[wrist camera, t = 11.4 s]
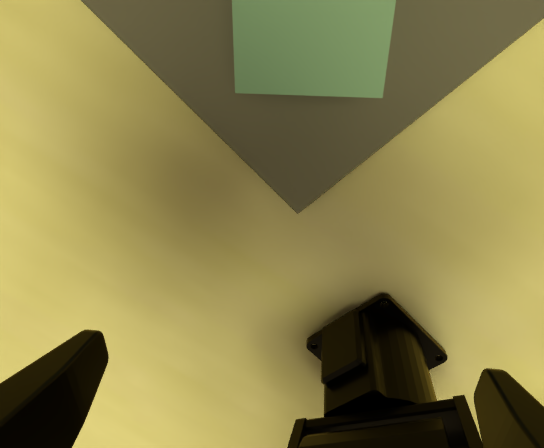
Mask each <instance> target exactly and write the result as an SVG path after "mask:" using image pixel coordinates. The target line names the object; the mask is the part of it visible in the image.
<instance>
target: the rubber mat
mask: <svg viewBox="0 0 544 448" xmlns="http://www.w3.org/2000/svg"><path fill="white" fill-rule="evenodd" d="M81 1H82V2H83V3H84V4H85V5H86V6H87V7H88V8H89V9H90V10H91V11H92V12H93V13H94V14H95V15H96V16H97V17H98V18H99V19H100V20H101V21H102V22H103V23H104V24H105V25H106V26H107V27H108V28H109V29H110V30H111V31H112V32H114V33H115V34H116V35H117V36H118V37H119V38H120V39H121V40H122V41H123V42H124V43H125V44H126V45H127V46H128V47H129V48H130V49H131V50H132V51H133V52H134V53H135V54H136V55H137V56H138V57H139V58H140V59H141V60H142V61H143V62H144V63H145V64H146V65H147V66H148V67H149V68H150V69H151V70H152V71H153V72H154V73H155V74H156V75H157V76H158V77H159V78H160V79H161V80H162V81H163V82H164V83H165V84H166V85H167V86H168V87H169V88H170V89H171V90H172V91H173V92H174V93H175V94H176V95H177V96H179V97H180V98H181V99H182V100H183V101H184V102H185V103H186V104H187V105H188V106H189V107H190V108H191V109H192V110H193V111H194V112H195V113H196V114H197V115H198V116H199V117H200V118H201V119H202V120H203V121H204V122H205V123H206V124H207V125H208V126H209V127H210V128H211V129H212V130H213V131H214V132H215V133H216V134H217V135H218V136H219V137H220V138H221V139H222V140H223V141H224V142H225V143H226V144H227V145H228V146H229V147H230V148H231V149H232V150H233V151H234V152H235V153H236V154H237V155H238V156H239V157H240V158H241V159H242V160H243V161H245V162H246V163H247V164H248V165H249V166H250V167H251V168H252V169H253V170H254V171H255V172H256V173H257V174H258V175H259V176H260V177H261V178H262V179H263V180H264V181H265V182H266V183H267V184H268V185H269V186H270V187H271V188H272V189H273V190H274V191H275V192H276V193H277V194H278V195H279V196H280V197H281V198H282V199H283V200H284V201H285V202H286V203H287V204H288V205H289V206H290V207H291V208H292V209H293V210H294V211H295V212H296V213H297V214H298V213H300V212H301V211H302V210H303V209H305V208H306V207H307V206H309V205H310V204H311V203H312V202H314V201H315V200H316V199H317V198H319V197H320V196H321V195H322V194H324V193H325V192H326V191H327V190H329V189H330V188H331V187H332V186H334V185H335V184H336V183H337V182H339V181H340V180H341V179H342V178H344V177H345V176H346V175H347V174H349V173H350V172H351V171H352V170H354V169H355V168H356V167H358V166H359V165H360V164H361V163H363V162H364V161H365V160H366V159H368V158H369V157H370V156H371V155H373V154H374V153H375V152H376V151H378V150H379V149H380V148H381V147H383V146H384V145H385V144H386V143H388V142H389V141H390V140H391V139H393V138H394V137H395V136H396V135H398V134H399V133H400V132H401V131H403V130H404V129H405V128H406V127H408V126H409V125H410V124H412V123H413V122H414V121H415V120H417V119H418V118H419V117H420V116H422V115H423V114H424V113H425V112H427V111H428V110H429V109H430V108H432V107H433V106H434V105H435V104H437V103H438V102H439V101H440V100H442V99H443V98H444V97H445V96H447V95H448V94H449V93H450V92H452V91H453V90H454V89H455V88H457V87H458V86H459V85H460V84H462V83H463V82H464V81H466V80H467V79H468V78H469V77H471V76H472V75H473V74H474V73H476V72H477V71H478V70H479V69H481V68H482V67H483V66H484V65H486V64H487V63H488V62H489V61H491V60H492V59H493V58H494V57H496V56H497V55H498V54H499V53H501V52H502V51H503V50H504V49H506V48H507V47H508V46H509V45H511V44H512V43H513V42H514V41H516V40H517V39H518V38H520V37H521V36H522V35H523V34H525V33H526V32H527V31H528V30H530V29H531V28H532V27H533V26H535V25H536V24H537V23H538V22H540V21H541V20H542V19H543V18H544V0H396V4H395V11H394V19H393V26H392V33H391V40H390V48H389V55H388V62H387V69H386V77H385V84H384V91H383V98H365V97H335V96H305V95H276V94H246V93H235V74H234V46H233V17H232V0H81Z"/></svg>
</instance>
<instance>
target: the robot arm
mask: <svg viewBox="0 0 544 448" xmlns="http://www.w3.org/2000/svg"><path fill="white" fill-rule="evenodd" d="M383 301H386V302H387V303H385V304H382V303H381V302H383ZM313 344H316V345H313ZM307 349H308V350H309V351H310V352H312V353H313V354H314V355H315V356H316V357H317V358H318V359H320V360H321V361H322V366H321V382H322V383H323V384H324V417H323V418H316V419H309V420H307V419H306V418H303V419H296V421H295V424H294V427H293V431H292V434H291V437H290V440H289V444H288V447H287V448H544V406H542V405H541V404H540V403H539V402H538V401H537V400H536V399H535V398H534V397H533V396H532V395H531V394H530V393H529V392H528V391H526V390H525V389H524V388H523V387H522V386H521V385H520V384H519V383H518V382H517V381H516V380H515V379H514V378H513V377H511V376H510V375H509V374H508V373H507V372H506V371H504V370H500V369H489V368H486V369H484V370H483V371H482V373H481V376H480V379H479V381H478V384H477V387H476V390H475V393H474V404H475V409H476V414H477V419H478V424H479V429H480V434H481V438H482V441H481V438H480V436H479V433H478V430H477V428H476V425H475V422H474V420H473V417H472V414H471V412H470V409H469V406H468V404H467V401H466V398H465V396H464V395H460V396H453V399H447V400H440V401H437V399H436V395H435V392H434V388H433V384H432V381H431V377H430V373H429V370H430V369H432V368H434V367H436V366H438V365H440V364H442V363H444V362H446V360H447V354H446V352H445V350H444V349H443V348H442V347H441V346H440V345H439V344H438V343H437V342H436V341H435V340H434V339H433V338H432V337H431V336H430V335H429V334H428V333H427V332H426V331H425V330H424V329H423V328H422V327H421V326H420V325H419V324H418V323H417V322H416V321H415V320H414V319H413V318H412V317H411V316H410V315H409V314H408V313H407V312H406V311H405V310H404V309H403V308H402V307H401V306H400V305H399V304H398V303H397V302H396V301H395V300H394V299H393V298H392V297H391V296H389V295H388V294H380V295H378V296H376V297H374V298H373V299H371V300H370V301H368V302H366V303H365V304H363V305H361V306H360V307H358V308H356V309H355V310H352V311H350V312H349V313H347V314H345V315H344V316H342V317H340V318H339V319H337V320H336V321H334V322H332V323H331V324H329V325H327V326H326V327H324V328H323V329H322V330H321V331H319V332H317V333H316V334H314V335H312V336H311V337H309V338H308V339H307ZM438 355H440V356H438ZM107 363H108V351H107V347H106V343H105V339H104V336H103V333H102V332H101V331H97V330H83V331H81V332H80V333H78V334H77V335H75V336H73V337H72V338H70V339H69V340H67V341H66V342H64V343H63V344H61V345H59V346H58V347H56V348H55V349H53V350H52V351H50V352H49V353H47V354H45V355H44V356H42V357H41V358H39V359H38V360H36V361H34V362H33V363H31V364H30V365H28V366H27V367H25V368H24V369H22V370H20V371H19V372H17V373H16V374H14V375H13V376H11V377H10V378H8V379H6V380H5V381H3V382H2V383H0V448H72V446H73V444H74V442H75V440H76V438H77V436H78V434H79V432H80V430H81V428H82V426H83V424H84V422H85V419H86V417H87V415H88V412H89V410H90V407H91V405H92V402H93V400H94V397H95V394H96V392H97V389H98V387H99V384H100V382H101V379H102V377H103V374H104V371H105V369H106V366H107ZM482 443H483V444H482Z"/></svg>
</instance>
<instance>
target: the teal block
mask: <svg viewBox="0 0 544 448" xmlns="http://www.w3.org/2000/svg"><path fill="white" fill-rule="evenodd" d="M395 4H396V0H232V17H233V46H234V74H235V93H246V94H276V95H305V96H335V97H365V98H383V91H384V84H385V77H386V69H387V62H388V55H389V48H390V40H391V33H392V26H393V19H394V11H395Z"/></svg>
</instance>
